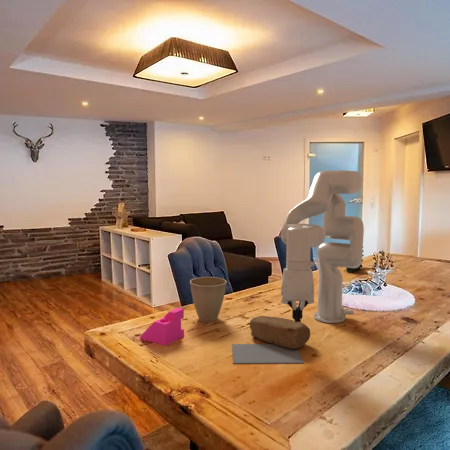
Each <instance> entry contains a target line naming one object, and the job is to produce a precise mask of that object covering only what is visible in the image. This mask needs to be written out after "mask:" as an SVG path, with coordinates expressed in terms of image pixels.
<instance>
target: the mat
mask: <svg viewBox="0 0 450 450" xmlns="http://www.w3.org/2000/svg"><path fill="white" fill-rule="evenodd" d="M231 347H232V364H233V365H239V364H240V365H241V364H244V365H247V364H251V365H252V364H255V365H257V364H259V365H260V364H261V365H262V364H269V365H270V364H272V365H273V364H274V365H275V364H305V360H303V356H302V355H301V353H300V350H299V348H296V349H291V348H287V347H283V346H279V345H276V344H272V343H232V344H231Z"/></svg>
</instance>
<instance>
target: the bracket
mask: <svg viewBox="0 0 450 450" xmlns="http://www.w3.org/2000/svg"><path fill="white" fill-rule="evenodd" d="M184 314H185V310H184V308H181V307H176V308H174V309H173V310H170V311H168V312H167V313H166V314H165V315H164V316H163V317H161V318H159V319H157V320H155V321H153V322H152V323H151V325H149V326H148V328H147V329H146V330H145V331H144V332H143V333H142V334H141V335H140V337H139V339H140V340H144V341H148V342H151V343H155V344H157V345H158V344H159V345H162V346H168V345H170V344H172V343H173V342H176V341H178V340H179V339H181V338H182V337H184V336H185V329H184V328H182V319H185V318H184V317H185V315H184Z"/></svg>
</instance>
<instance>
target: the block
mask: <svg viewBox="0 0 450 450" xmlns="http://www.w3.org/2000/svg"><path fill="white" fill-rule="evenodd" d="M249 328H250V330H251V331H250V335H251V337H254V338H257V339H258V340H260V341H263V342H266V343H268V344H276V345H279V346H283V347H287V348H291V349H296V348H298V349H299V348H302V347H303V346H305V345H306V343H307V342H309V340H310V338H311V328H309V326H308V325H306V324H305V323H303V322H295V320H294V319H289V318H284V317H276V316H266V315H258V316H255V317H253V318H251V319H250V322H249Z"/></svg>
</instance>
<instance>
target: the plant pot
mask: <svg viewBox="0 0 450 450" xmlns="http://www.w3.org/2000/svg"><path fill="white" fill-rule="evenodd" d="M189 284H190V292H191V296H192V302H193V305H194V306H193V307H194V309H195V311H196V314H197V317H198V319H199V321H201V322H206V323H210V322H215V321H217V319H218V317H219V316H220V312H221V309H222V306H223V303H224V302H223V301H224V298H225V295H226V289H227V288H226V287H227V280H226V279H224V278H221V277H218V276H217V277H216V276H215V277H214V276H201V277H200V276H199V277H195V278H192V279H190V280H189Z"/></svg>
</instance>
